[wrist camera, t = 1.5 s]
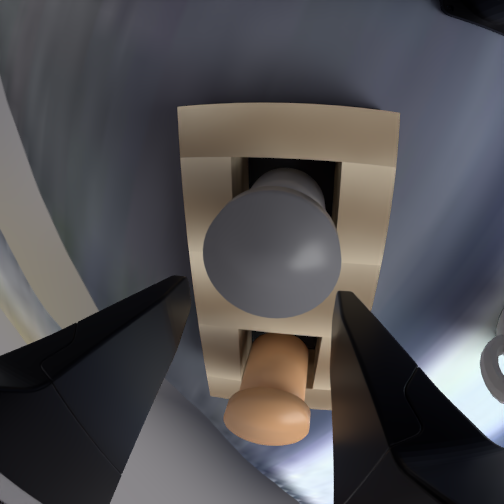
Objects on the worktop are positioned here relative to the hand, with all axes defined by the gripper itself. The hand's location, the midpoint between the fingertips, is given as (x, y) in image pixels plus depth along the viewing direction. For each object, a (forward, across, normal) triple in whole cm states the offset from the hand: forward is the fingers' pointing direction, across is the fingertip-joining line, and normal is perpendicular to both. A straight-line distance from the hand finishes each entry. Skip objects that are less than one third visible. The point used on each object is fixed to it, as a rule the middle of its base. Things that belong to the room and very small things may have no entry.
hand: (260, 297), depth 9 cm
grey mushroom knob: (+8, 0, 0) cm, 8 cm away
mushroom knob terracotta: (+8, 0, +10) cm, 13 cm away
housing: (+11, 0, +5) cm, 12 cm away
